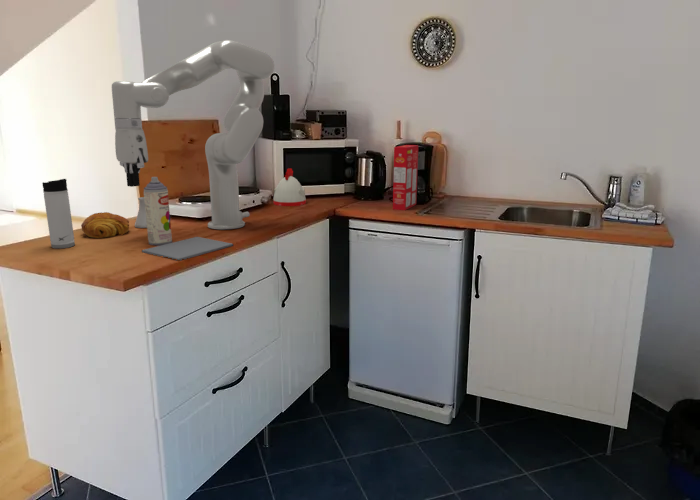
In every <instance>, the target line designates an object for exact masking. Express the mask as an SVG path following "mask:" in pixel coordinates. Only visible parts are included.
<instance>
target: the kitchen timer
mask: <svg viewBox="0 0 700 500" xmlns="http://www.w3.org/2000/svg"><path fill="white" fill-rule="evenodd" d="M306 199H307V198H306V191H305V187H304V186H302V184H301V183H300V181H298V179H297V178H296V177H294V170H293V168H289V167H288V168H287V169H286V172H285V174H284V177H283V178H281V179H280V180H279V182H278V184H277V185H276V187H274V190H273V199H272V200H273V205H274V206H279V207H297V206H303V205H306V204H307V200H306Z"/></svg>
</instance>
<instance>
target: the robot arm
mask: <svg viewBox="0 0 700 500" xmlns="http://www.w3.org/2000/svg"><path fill="white" fill-rule="evenodd" d="M228 69H232V70H235V71H236V73H237V76H238V79H239V90H238V92H237V94H236V96H235V97H234V99H233V100H232V103H231V105H230V106H229V108H228V109H227V111H226V113H225V114H224V117H223V126H224V128H225V130H226V131H227V133H223V132H218V133H214V134H212V135H211V136H209V137H208V138H207V140H206V141H205V142H206V143H205V147H204V148H205V149H204V151H205V157H206V158H205V159H206V162H207V168H208V177H209V179H208V180H209V193H210V194H209V195H210V209H211V210H210V211H211V221H209V222H208V223H207V227H208V228H209V229H213V230H221V231H222V230H233V229H240V228H243V227H244V226H246V222H245V221H244V220H243V219H245V218H248V217H250V212H249V211H243V212H242V211H241V210H240V196H239V195H240V193H239V176H238V174H239V173H238V168H237V165H238V164H241V163H242V162H244V160H246V159H247V158H248V155H249V154H250V152H251V150H252V149H253V147H254V145H255V143H256V142H257V140H258V138H259V137H260V135H261V133H262V130H263V128H264V117H263V114H262V112H261V111H260V110H259V109H260V107H261V105H262V103H263V101H264V97H265V88H264V87H265V86H264V82H263V80H266V79H268V78H269V77H270V76H272V75H273V73H274V70H275V62H274V60H273V57H272V56H271V55H270V54H269V53H268V52H266V51H264V50H260V49H259V48H255V47H253V46H249V45H247V44H245V43H242V42H240V41H236V40H232V39H224V40H220V41H215V42H213V43H211V44H209V45H207V46H205V47H203V48H202V49H200V50H198V51H197V52H195V53H193V54H191V55H189V56H188V57H186V58H184V59H182V60H180V61H178V62H176V63H174V64H172V65H171V66H169V67H167V68H166V69H164V70H161V71H159V72H158V73H155V74H153V75H152V76H150V77H148V78H146V79H144V80H142V81H141V82H134V81H127V80H126V81H124V80H123V81H113V82H112V83H111V99H112V106H113V108H112V109H113V118H114V119H113V120H114V130H115V134H114V140H115V141H114V145H115V147H114V148H115V157H116V160H117V161H118V162H119V165H120V166H121V167H123V168H124V173H125V174H126V184H127V187H130V188H131V187H133V188H134V187H139V186H140V183H141V182H140V172H141V169H142V168H145V164H146V163H148V162H149V152H148V145H147V144H148V143H147V139H146V134H145V131H144V129H143V124H142V123H143V122H142V109H141V108H142V107H143V108H145V109H146V108H147V109H148V108H149V109H150V108H153V109H158V108H161V107H164V106H165V105H166V104H167V103H168V101H169V98H170V96H172V95H173V94H176V93H179V92H181V91H184V90H189V89H192V88H194V87H197V86H199V85H201V84H203V83H204V82H206V81H207V80H209V79H211V78H212V77H214V76H216V75H218V74H219V73H221V72H222V71H223V72H224V71H225V70H228Z"/></svg>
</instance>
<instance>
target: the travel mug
mask: <svg viewBox="0 0 700 500" xmlns="http://www.w3.org/2000/svg"><path fill="white" fill-rule="evenodd" d="M41 184H42V189H43V190H42V191H43V198H44V206H45V212H46V220H47V225H48V234H49V239H50V247H51V248H52V249H59V250H60V249H67V248H71V247H74V246H76V245H75V244H76V242H75V234H74V233H75V232H74V228H73V221H72V220H73V219H72V212H71V211H72V210H71V204H70V199H69V198H70V197H69V192H68V191H69V189H68V184H67V178H62V179H61V178H60V179H55V180H50V181H47V182H46V181H45V182H44V181H43V182H42V183H41Z"/></svg>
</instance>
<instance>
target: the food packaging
mask: <svg viewBox="0 0 700 500" xmlns="http://www.w3.org/2000/svg"><path fill="white" fill-rule="evenodd" d="M418 163H419V144H417V145H416V144H404V145H400V146H399V145H398V146H394V147H393V179H392V180H393V182H392V183H393V185H392V188H393V189H392V210H395V211H397V210H398V211H406V210H410V209H411V208H413V207H414V206H416V205H417V196H418V195H417V194H418V193H417V192H418V168H419V167H418V166H419V164H418Z"/></svg>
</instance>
